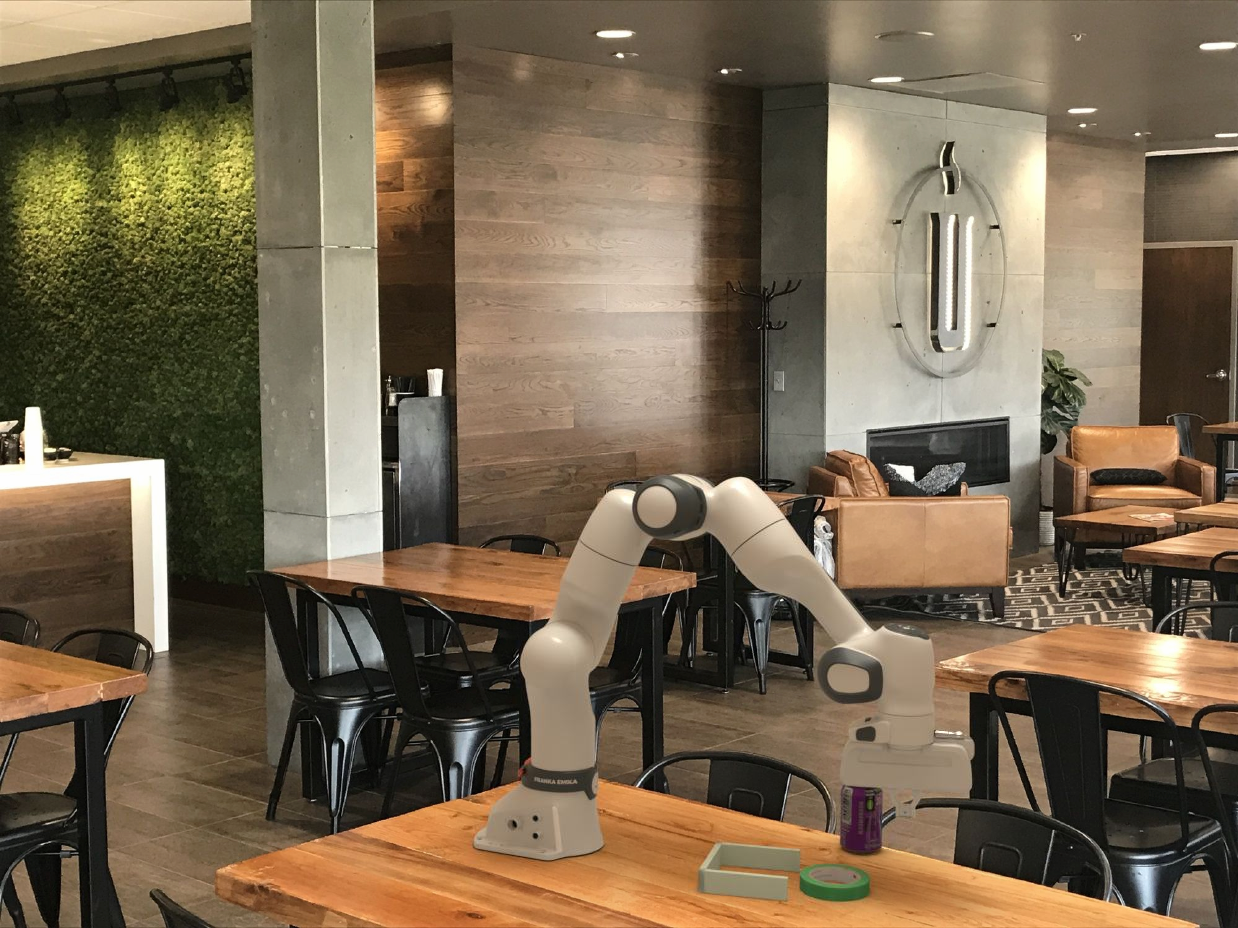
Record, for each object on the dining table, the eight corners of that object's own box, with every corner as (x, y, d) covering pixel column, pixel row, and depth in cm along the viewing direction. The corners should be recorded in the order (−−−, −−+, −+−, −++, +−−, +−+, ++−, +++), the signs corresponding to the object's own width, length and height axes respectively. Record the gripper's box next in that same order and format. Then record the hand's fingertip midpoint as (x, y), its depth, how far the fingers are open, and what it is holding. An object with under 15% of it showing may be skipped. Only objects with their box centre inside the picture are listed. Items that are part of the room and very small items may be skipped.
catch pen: (698, 892, 229) (698, 870, 229) (716, 862, 244) (716, 841, 243) (786, 900, 225) (787, 878, 225) (800, 870, 240) (800, 849, 240)
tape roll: (871, 905, 225) (871, 888, 225) (799, 901, 226) (799, 884, 226) (868, 881, 236) (868, 864, 236) (799, 877, 237) (799, 861, 237)
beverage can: (881, 856, 247) (882, 787, 246) (838, 853, 248) (839, 784, 248) (882, 844, 254) (883, 776, 253) (841, 841, 255) (842, 773, 255)
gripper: (975, 727, 227) (974, 815, 228) (843, 720, 233) (842, 806, 233) (974, 737, 221) (973, 826, 222) (838, 729, 226) (838, 817, 227)
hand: (905, 816), depth 228 cm, fingers closed
